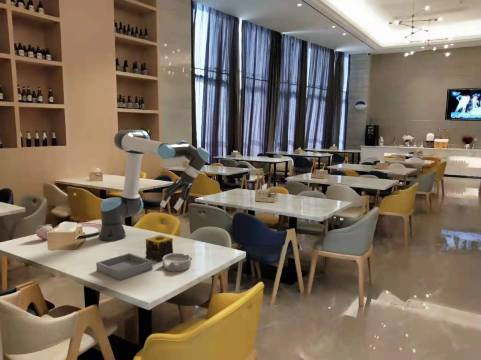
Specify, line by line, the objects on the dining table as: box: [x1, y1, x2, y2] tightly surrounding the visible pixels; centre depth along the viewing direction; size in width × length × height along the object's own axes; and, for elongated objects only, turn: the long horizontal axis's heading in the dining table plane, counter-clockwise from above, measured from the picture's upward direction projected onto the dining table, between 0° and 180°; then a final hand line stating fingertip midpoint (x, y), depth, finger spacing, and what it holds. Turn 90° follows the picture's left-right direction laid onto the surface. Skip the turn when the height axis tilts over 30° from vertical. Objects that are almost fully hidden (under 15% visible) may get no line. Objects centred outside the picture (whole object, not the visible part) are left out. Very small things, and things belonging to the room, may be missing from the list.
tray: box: [95, 252, 153, 282], centre depth 183 cm, size 18×18×4 cm
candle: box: [145, 234, 174, 263], centre depth 201 cm, size 10×10×10 cm
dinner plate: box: [76, 222, 102, 237], centre depth 246 cm, size 28×27×3 cm
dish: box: [161, 252, 193, 272], centre depth 188 cm, size 14×14×5 cm
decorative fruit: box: [35, 222, 54, 241], centre depth 230 cm, size 9×8×10 cm
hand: (169, 207), depth 212 cm, fingers open, 13 cm apart
